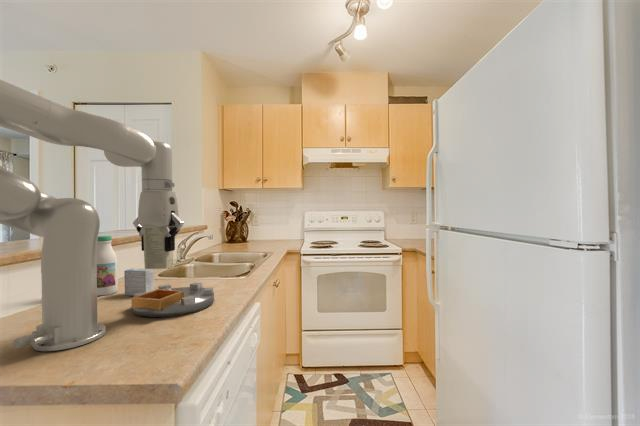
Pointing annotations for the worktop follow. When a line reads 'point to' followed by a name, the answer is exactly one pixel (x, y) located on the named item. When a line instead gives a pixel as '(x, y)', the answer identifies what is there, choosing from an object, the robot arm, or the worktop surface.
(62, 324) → the robot arm
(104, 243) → the milk bottle
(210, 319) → the worktop surface
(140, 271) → the medicine box
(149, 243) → the skincare box
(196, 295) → the round grey platter
